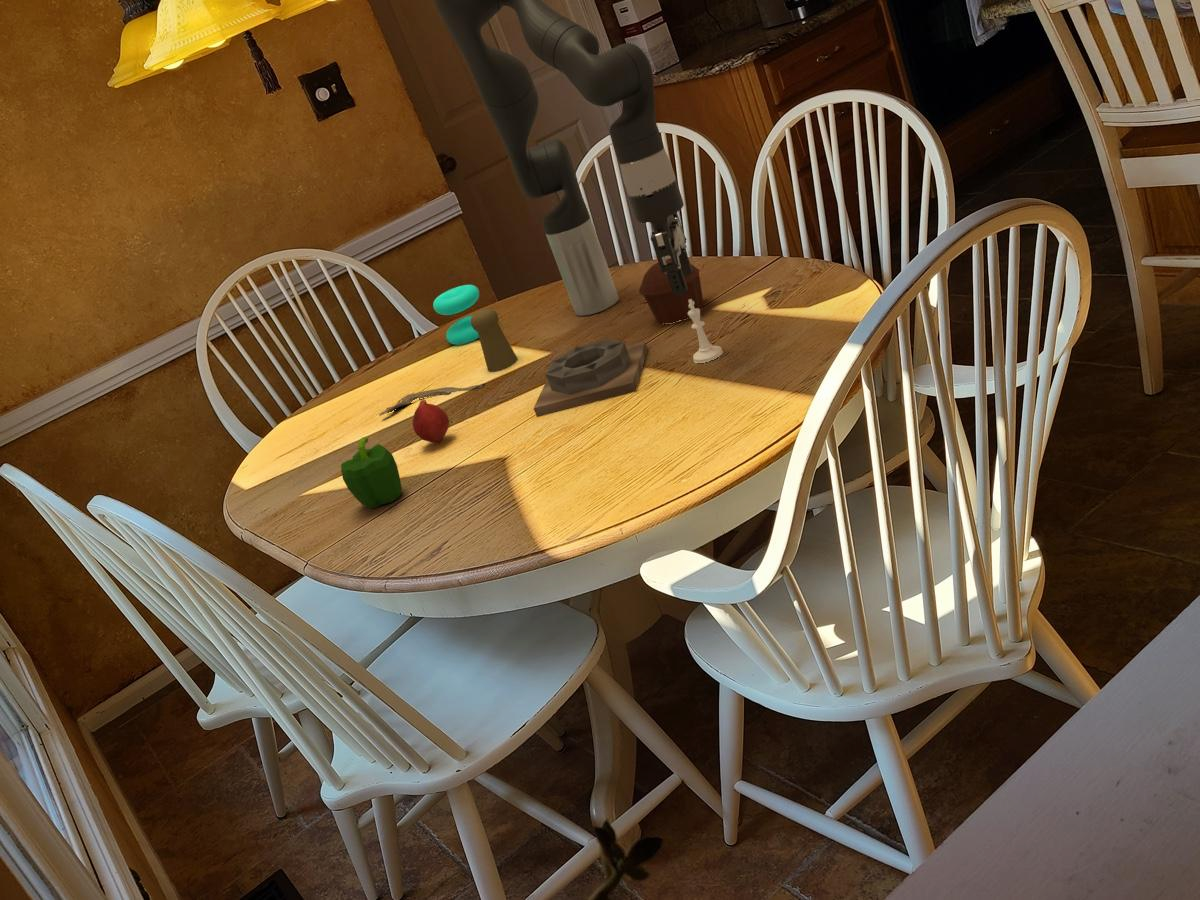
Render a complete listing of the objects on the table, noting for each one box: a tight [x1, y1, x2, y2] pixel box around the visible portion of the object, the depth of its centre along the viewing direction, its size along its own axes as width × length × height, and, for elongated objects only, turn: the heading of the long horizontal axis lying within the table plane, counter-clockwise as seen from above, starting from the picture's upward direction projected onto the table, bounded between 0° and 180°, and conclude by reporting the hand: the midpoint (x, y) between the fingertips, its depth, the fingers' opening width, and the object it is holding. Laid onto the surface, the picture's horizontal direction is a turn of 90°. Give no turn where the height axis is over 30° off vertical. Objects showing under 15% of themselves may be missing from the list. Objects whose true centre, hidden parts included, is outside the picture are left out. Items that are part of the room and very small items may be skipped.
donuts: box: [432, 284, 480, 346], centre depth 231 cm, size 10×10×10 cm
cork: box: [471, 308, 519, 373], centre depth 207 cm, size 6×6×11 cm
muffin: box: [638, 258, 705, 325], centre depth 198 cm, size 12×11×10 cm
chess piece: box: [688, 299, 724, 364], centre depth 175 cm, size 5×5×10 cm
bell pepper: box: [340, 436, 403, 509], centre depth 169 cm, size 8×8×10 cm
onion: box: [412, 399, 450, 444], centre depth 183 cm, size 6×6×8 cm
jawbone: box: [378, 383, 487, 417], centre depth 207 cm, size 9×20×2 cm, turn 91°
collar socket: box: [533, 338, 649, 417], centre depth 184 cm, size 17×17×4 cm
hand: (683, 284), depth 172 cm, fingers open, 8 cm apart
